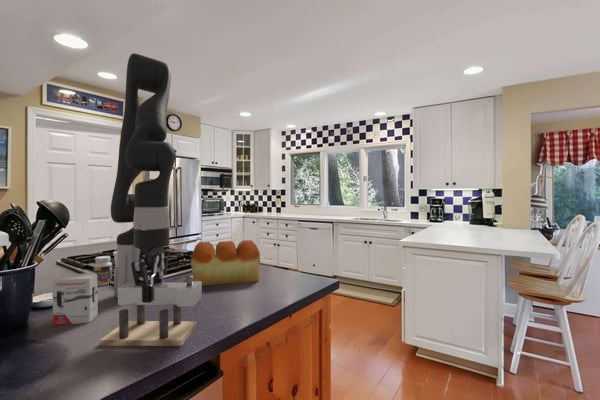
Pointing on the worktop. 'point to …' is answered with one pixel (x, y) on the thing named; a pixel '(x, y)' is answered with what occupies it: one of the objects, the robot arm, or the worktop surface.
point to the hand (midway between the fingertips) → (152, 298)
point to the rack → (150, 330)
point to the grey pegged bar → (163, 293)
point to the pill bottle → (103, 270)
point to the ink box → (75, 298)
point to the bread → (225, 262)
